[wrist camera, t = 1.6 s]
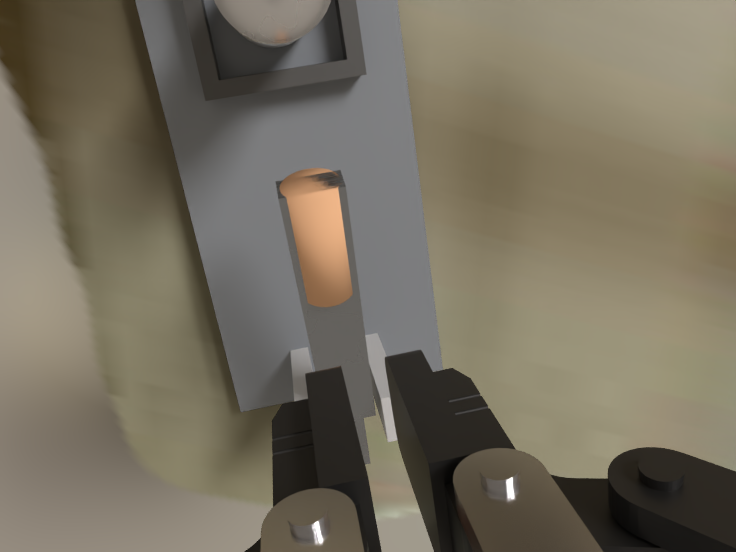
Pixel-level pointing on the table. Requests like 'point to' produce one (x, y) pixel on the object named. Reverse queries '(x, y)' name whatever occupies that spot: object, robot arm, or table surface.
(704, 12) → the table surface
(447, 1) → the table surface
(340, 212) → the lever
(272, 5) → the translucent white cylinder
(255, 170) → the grey flat base
